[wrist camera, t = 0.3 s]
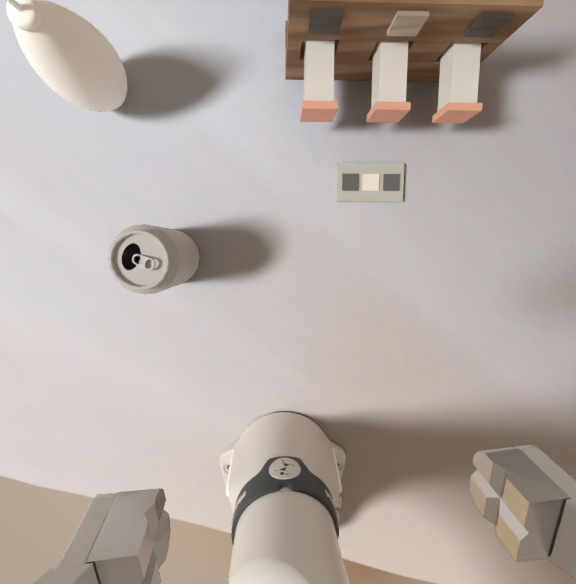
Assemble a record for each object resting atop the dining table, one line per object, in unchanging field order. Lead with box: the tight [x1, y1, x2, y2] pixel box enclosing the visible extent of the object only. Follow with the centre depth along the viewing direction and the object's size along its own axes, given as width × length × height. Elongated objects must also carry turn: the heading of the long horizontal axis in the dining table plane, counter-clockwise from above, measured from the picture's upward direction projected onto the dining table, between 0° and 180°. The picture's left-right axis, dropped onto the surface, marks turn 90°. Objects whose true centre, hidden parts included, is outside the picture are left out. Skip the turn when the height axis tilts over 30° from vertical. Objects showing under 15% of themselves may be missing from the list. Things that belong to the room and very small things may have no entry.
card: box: [337, 163, 404, 202], centre depth 45 cm, size 5×9×1 cm, turn 90°
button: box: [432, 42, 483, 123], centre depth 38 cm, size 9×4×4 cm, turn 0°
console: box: [286, 0, 544, 82], centre depth 36 cm, size 6×23×14 cm, turn 90°
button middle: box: [367, 41, 411, 123], centre depth 38 cm, size 9×4×4 cm, turn 0°
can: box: [108, 224, 200, 294], centre depth 40 cm, size 8×8×12 cm
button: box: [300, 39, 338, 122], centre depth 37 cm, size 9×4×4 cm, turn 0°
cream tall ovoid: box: [6, 0, 127, 112], centre depth 34 cm, size 8×8×18 cm
